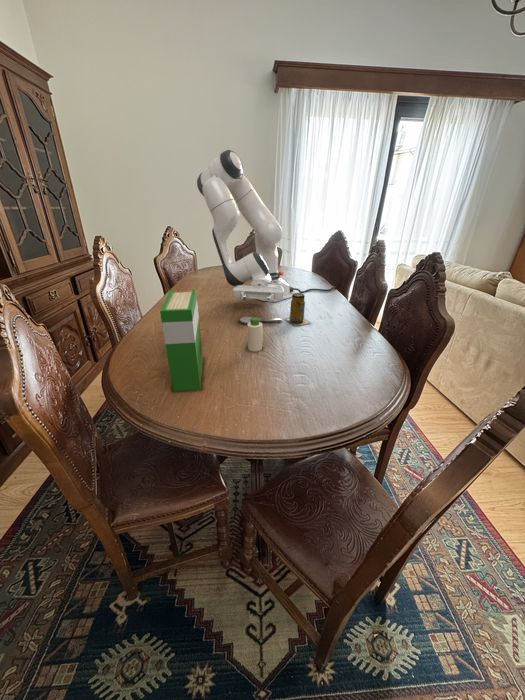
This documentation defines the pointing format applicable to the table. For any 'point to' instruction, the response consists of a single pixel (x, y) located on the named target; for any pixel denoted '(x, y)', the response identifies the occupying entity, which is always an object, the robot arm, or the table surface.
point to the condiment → (297, 310)
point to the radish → (254, 334)
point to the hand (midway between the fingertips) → (256, 298)
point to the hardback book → (183, 339)
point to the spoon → (248, 319)
